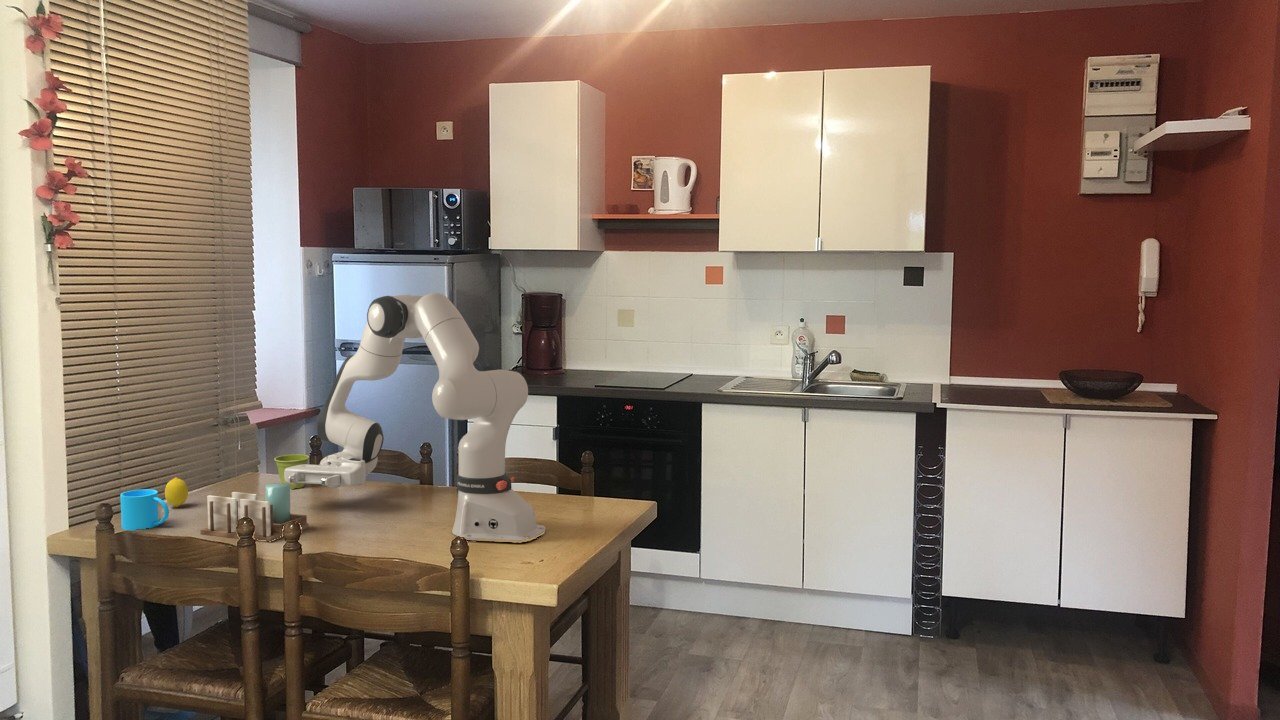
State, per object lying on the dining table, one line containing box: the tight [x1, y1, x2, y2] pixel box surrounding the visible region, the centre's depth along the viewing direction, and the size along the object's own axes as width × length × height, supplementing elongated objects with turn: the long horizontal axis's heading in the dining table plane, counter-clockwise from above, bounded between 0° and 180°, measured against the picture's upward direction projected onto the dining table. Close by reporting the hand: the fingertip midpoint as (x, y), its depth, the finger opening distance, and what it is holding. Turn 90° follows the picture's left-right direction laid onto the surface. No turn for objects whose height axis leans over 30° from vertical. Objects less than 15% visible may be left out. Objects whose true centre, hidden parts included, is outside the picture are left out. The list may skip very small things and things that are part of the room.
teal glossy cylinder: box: [264, 482, 291, 524], centre depth 242 cm, size 6×6×10 cm
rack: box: [199, 491, 310, 541], centre depth 242 cm, size 20×14×9 cm
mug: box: [120, 488, 170, 531], centre depth 245 cm, size 12×8×8 cm
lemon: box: [164, 476, 189, 508], centre depth 263 cm, size 6×6×8 cm
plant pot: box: [274, 454, 310, 490], centre depth 287 cm, size 9×9×9 cm
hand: (307, 481), depth 253 cm, fingers open, 8 cm apart
